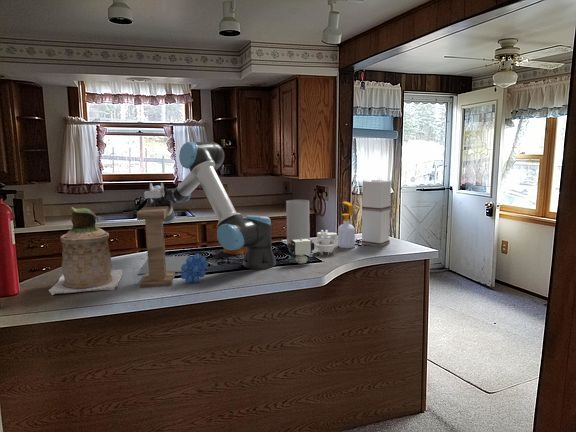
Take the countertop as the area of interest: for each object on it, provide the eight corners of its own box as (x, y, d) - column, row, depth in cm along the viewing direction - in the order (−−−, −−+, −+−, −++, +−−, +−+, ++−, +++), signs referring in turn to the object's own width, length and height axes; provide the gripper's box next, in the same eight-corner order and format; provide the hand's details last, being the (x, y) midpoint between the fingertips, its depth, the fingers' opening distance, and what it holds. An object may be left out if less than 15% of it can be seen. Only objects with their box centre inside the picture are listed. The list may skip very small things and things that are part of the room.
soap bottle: (342, 244, 235) (343, 200, 231) (357, 245, 230) (358, 201, 226) (334, 247, 228) (334, 202, 224) (349, 249, 223) (350, 203, 219)
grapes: (204, 277, 178) (203, 249, 176) (211, 281, 172) (209, 253, 170) (177, 282, 171) (176, 254, 169) (183, 287, 166) (182, 257, 164)
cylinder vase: (282, 246, 231) (281, 201, 227) (295, 242, 241) (294, 199, 237) (301, 249, 224) (301, 203, 220) (313, 245, 234) (313, 200, 230)
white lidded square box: (389, 243, 235) (390, 180, 229) (380, 246, 227) (381, 182, 221) (371, 240, 242) (372, 180, 236) (361, 244, 234) (362, 181, 228)
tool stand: (170, 285, 168) (166, 211, 163) (139, 287, 166) (133, 212, 161) (175, 274, 183) (171, 205, 179) (146, 275, 182) (141, 207, 177)
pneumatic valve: (314, 262, 198) (314, 237, 196) (291, 265, 194) (290, 239, 192) (310, 259, 203) (310, 235, 201) (287, 262, 199) (287, 237, 197)
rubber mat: (184, 272, 186) (184, 271, 186) (137, 275, 183) (137, 273, 183) (189, 256, 213) (189, 255, 213) (148, 258, 210) (148, 257, 210)
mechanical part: (313, 256, 210) (313, 232, 208) (316, 250, 222) (315, 228, 220) (336, 256, 208) (336, 233, 206) (337, 250, 220) (337, 228, 218)
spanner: (159, 197, 172) (159, 191, 171) (144, 198, 171) (144, 192, 170) (166, 192, 193) (166, 187, 193) (153, 192, 192) (152, 187, 192)
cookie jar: (118, 290, 164) (111, 208, 159) (47, 297, 157) (38, 212, 152) (123, 272, 187) (117, 201, 182) (62, 278, 180) (54, 204, 175)
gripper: (181, 212, 205) (176, 192, 183) (145, 214, 202) (135, 194, 180) (181, 198, 207) (176, 177, 186) (145, 199, 205) (136, 178, 183)
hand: (156, 185), depth 183 cm, fingers closed on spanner, 4 cm apart
